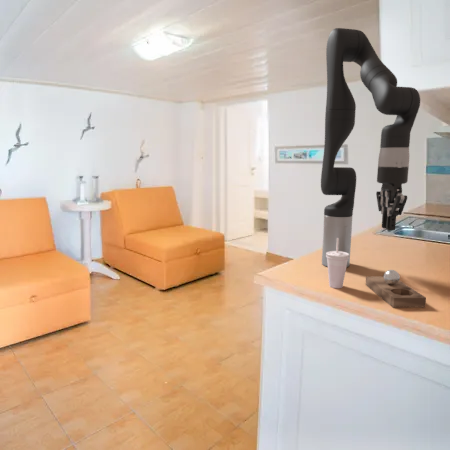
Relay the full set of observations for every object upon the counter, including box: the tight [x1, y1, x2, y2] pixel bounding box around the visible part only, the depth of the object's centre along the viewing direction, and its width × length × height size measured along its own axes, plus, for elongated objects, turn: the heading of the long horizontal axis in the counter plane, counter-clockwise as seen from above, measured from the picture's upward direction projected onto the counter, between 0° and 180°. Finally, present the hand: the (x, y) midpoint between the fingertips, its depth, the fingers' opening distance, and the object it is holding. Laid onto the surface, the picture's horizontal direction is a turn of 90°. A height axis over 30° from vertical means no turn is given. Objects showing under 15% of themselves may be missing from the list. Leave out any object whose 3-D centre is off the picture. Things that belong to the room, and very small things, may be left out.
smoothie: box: [326, 238, 349, 289], centre depth 106 cm, size 6×6×14 cm
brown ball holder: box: [364, 275, 427, 309], centre depth 100 cm, size 17×8×2 cm, turn 2°
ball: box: [383, 269, 400, 285], centre depth 101 cm, size 4×4×4 cm
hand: (388, 228), depth 103 cm, fingers closed
